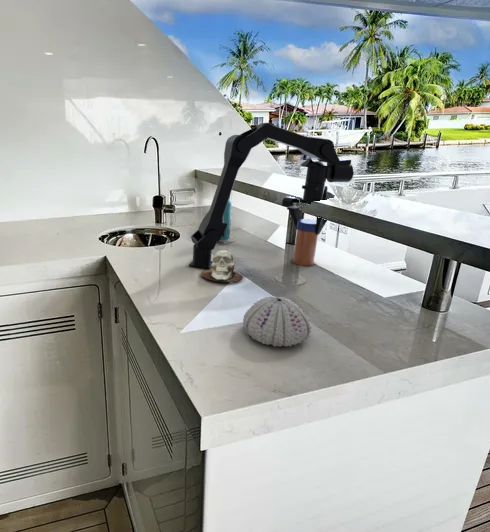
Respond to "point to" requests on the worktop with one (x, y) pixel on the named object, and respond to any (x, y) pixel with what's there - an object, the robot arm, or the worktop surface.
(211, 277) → the skull
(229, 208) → the beverage bottle
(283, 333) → the sea urchin shell
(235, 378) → the worktop surface
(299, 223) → the jar lid
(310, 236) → the jar
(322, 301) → the worktop surface
